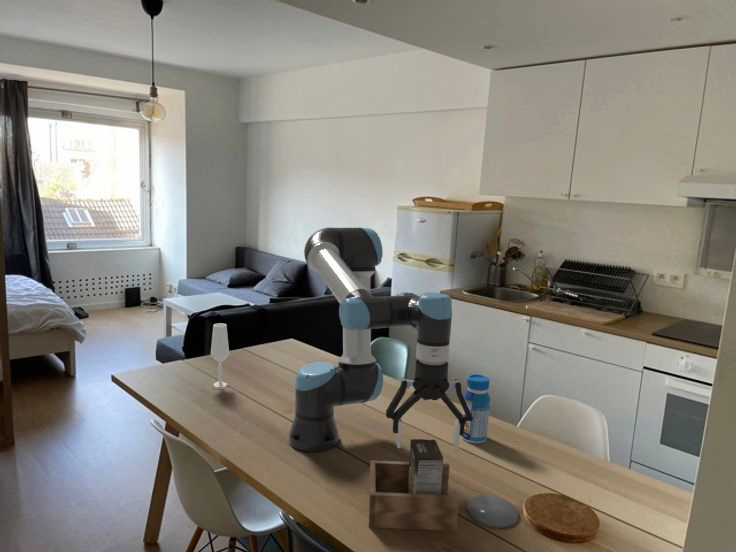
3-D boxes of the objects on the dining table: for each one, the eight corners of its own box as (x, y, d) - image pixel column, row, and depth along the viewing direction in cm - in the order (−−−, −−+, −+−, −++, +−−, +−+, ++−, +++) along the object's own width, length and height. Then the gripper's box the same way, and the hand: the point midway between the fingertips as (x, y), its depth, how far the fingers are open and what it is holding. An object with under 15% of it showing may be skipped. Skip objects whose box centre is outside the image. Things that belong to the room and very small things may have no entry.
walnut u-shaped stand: (368, 527, 119) (370, 495, 118) (369, 489, 135) (370, 460, 133) (456, 530, 119) (458, 498, 118) (446, 492, 135) (448, 463, 133)
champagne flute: (223, 381, 204) (223, 321, 200) (232, 386, 199) (232, 325, 195) (207, 385, 199) (207, 324, 195) (216, 390, 194) (216, 328, 190)
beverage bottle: (481, 447, 160) (487, 384, 157) (456, 439, 164) (460, 378, 161) (491, 436, 167) (496, 376, 164) (466, 429, 171) (470, 371, 168)
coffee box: (406, 498, 131) (409, 438, 129) (431, 498, 132) (435, 438, 129) (412, 521, 122) (416, 457, 120) (439, 521, 123) (444, 457, 120)
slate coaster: (472, 526, 121) (472, 523, 121) (463, 497, 133) (463, 494, 133) (524, 529, 121) (524, 526, 121) (510, 499, 133) (510, 496, 133)
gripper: (378, 363, 117) (374, 452, 120) (489, 367, 117) (483, 456, 120) (378, 353, 125) (374, 437, 128) (482, 357, 125) (476, 441, 128)
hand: (427, 446), depth 124 cm, fingers open, 13 cm apart
